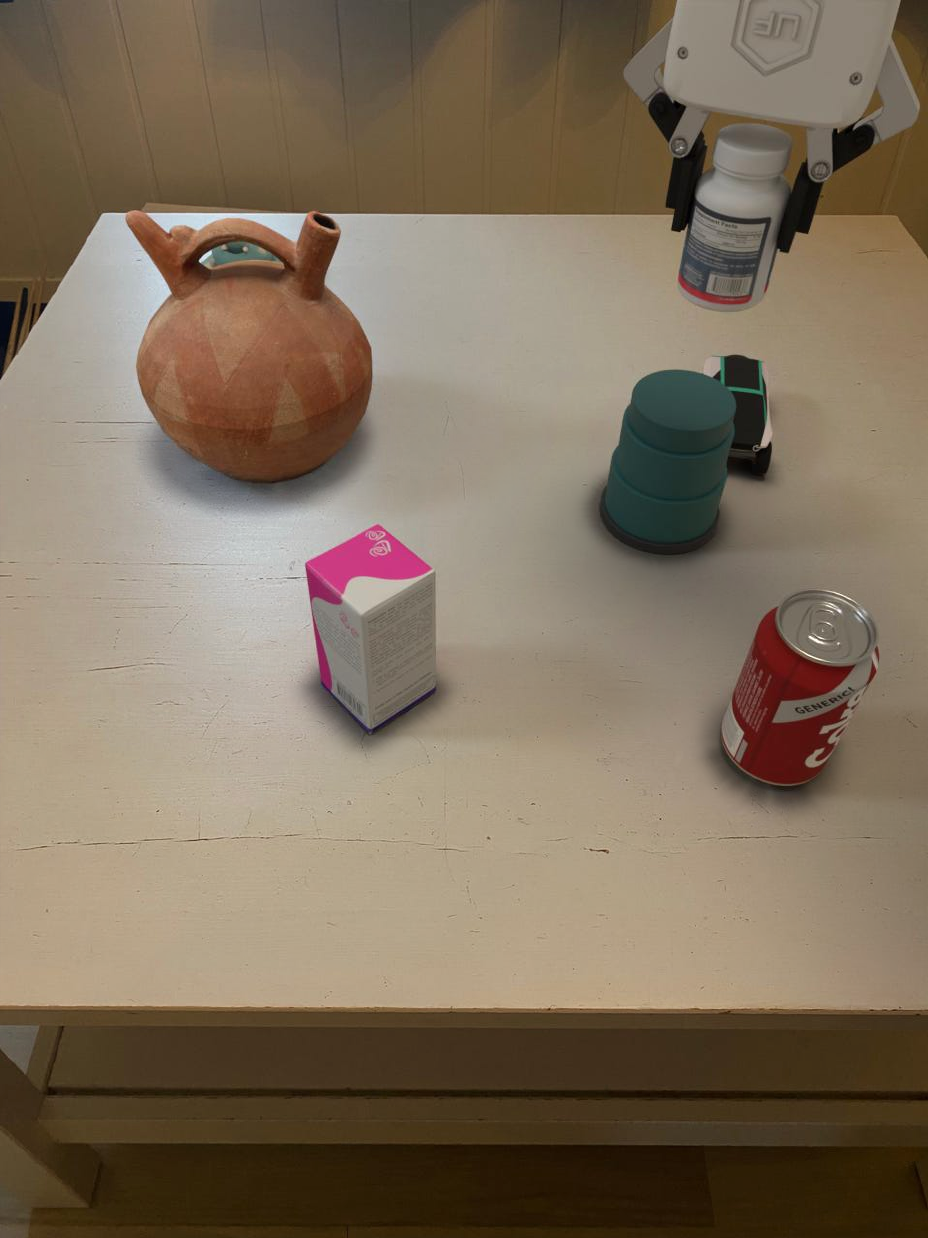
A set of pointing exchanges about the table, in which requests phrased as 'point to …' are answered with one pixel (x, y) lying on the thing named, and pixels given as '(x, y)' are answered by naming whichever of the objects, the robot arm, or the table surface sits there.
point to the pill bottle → (736, 219)
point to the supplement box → (374, 626)
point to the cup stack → (670, 463)
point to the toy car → (746, 406)
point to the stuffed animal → (237, 254)
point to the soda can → (800, 686)
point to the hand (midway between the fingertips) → (734, 228)
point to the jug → (252, 349)
